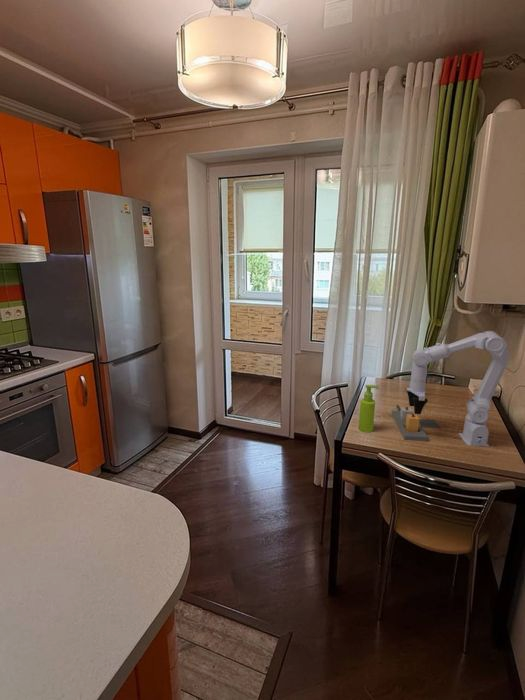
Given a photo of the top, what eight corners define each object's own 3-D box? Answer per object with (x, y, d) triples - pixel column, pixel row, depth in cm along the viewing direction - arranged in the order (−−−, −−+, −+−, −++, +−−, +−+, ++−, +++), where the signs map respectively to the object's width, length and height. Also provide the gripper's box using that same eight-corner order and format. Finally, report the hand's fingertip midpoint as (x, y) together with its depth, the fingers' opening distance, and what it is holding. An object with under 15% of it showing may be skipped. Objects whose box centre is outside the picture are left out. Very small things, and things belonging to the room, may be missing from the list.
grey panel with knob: (427, 441, 148) (429, 426, 146) (404, 440, 149) (406, 424, 147) (407, 408, 178) (408, 394, 176) (387, 407, 179) (389, 393, 177)
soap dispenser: (375, 433, 154) (379, 388, 149) (358, 431, 156) (362, 387, 150) (374, 426, 160) (378, 383, 154) (358, 425, 161) (361, 382, 156)
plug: (417, 434, 152) (419, 416, 150) (407, 433, 153) (409, 416, 151) (414, 429, 156) (416, 412, 154) (405, 429, 157) (407, 412, 155)
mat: (440, 428, 158) (441, 428, 158) (421, 427, 159) (421, 427, 159) (434, 420, 166) (434, 419, 166) (416, 419, 167) (416, 418, 166)
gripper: (403, 372, 157) (400, 402, 161) (413, 385, 143) (409, 417, 147) (420, 373, 156) (417, 403, 160) (432, 385, 142) (428, 417, 146)
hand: (414, 409), depth 153 cm, fingers open, 7 cm apart
